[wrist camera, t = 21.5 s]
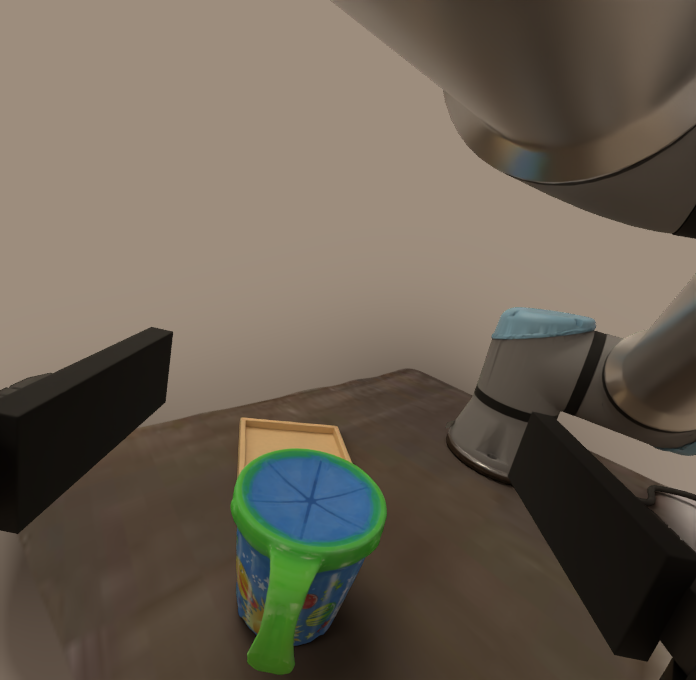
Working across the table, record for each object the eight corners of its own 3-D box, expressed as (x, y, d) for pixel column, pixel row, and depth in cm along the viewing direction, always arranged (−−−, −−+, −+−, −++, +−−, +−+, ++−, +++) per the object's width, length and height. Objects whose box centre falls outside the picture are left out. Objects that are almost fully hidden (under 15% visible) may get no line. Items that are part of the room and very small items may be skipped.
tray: (335, 434, 57) (337, 426, 56) (369, 523, 41) (372, 513, 40) (239, 426, 53) (241, 417, 52) (235, 521, 37) (237, 509, 37)
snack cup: (329, 755, 22) (373, 616, 20) (157, 686, 23) (177, 546, 21) (367, 550, 37) (395, 455, 34) (261, 514, 38) (280, 420, 36)
